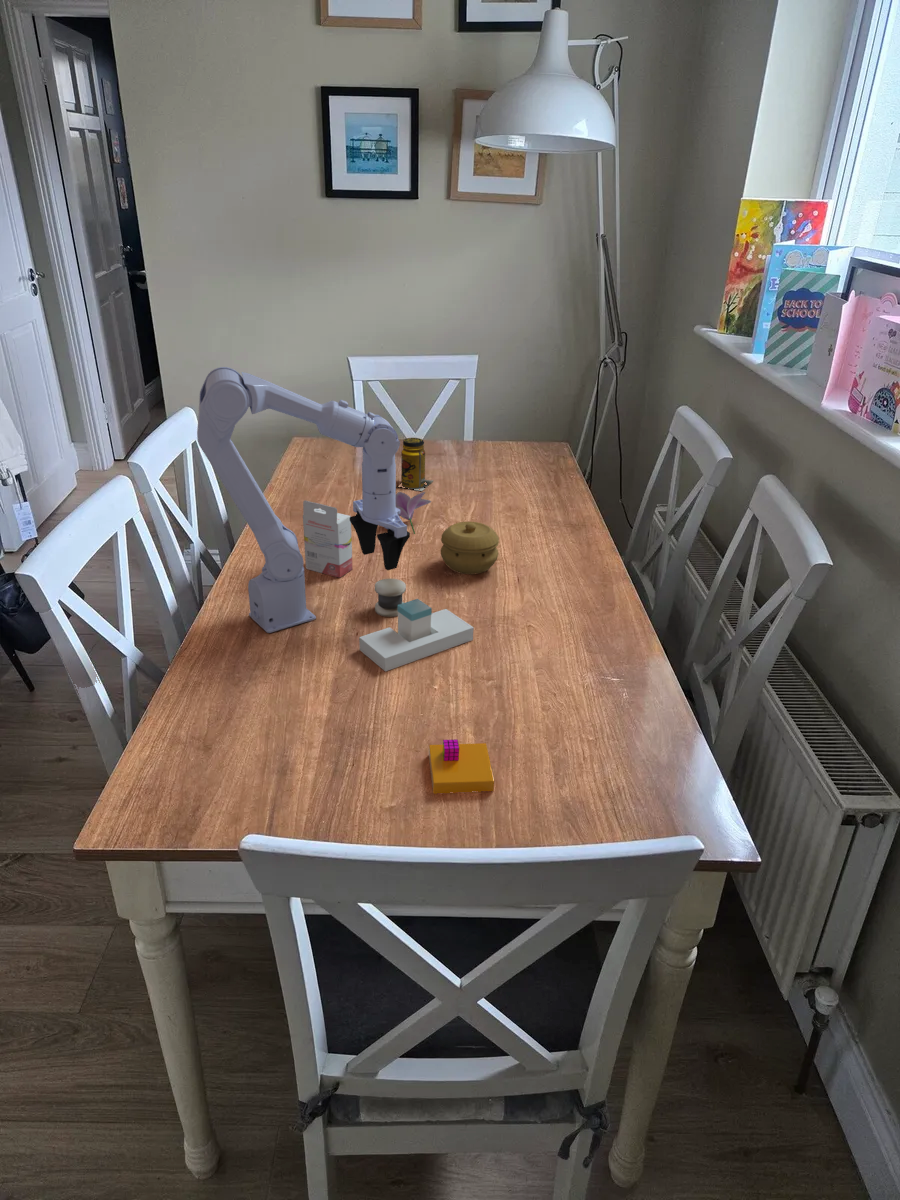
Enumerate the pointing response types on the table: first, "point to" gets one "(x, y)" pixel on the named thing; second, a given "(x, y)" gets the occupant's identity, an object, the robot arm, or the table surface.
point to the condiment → (413, 464)
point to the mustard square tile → (460, 767)
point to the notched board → (398, 651)
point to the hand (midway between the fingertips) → (379, 560)
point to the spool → (389, 596)
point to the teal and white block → (414, 620)
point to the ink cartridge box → (327, 539)
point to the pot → (469, 547)
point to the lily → (409, 505)
